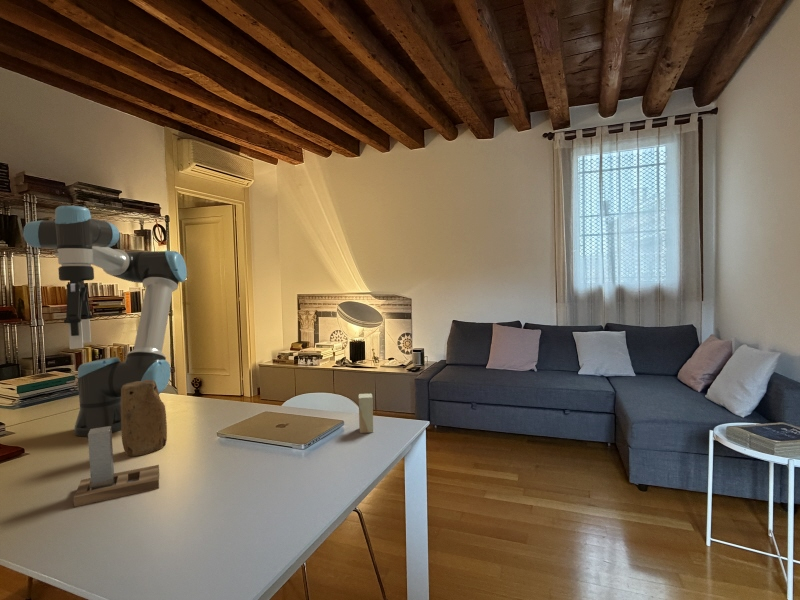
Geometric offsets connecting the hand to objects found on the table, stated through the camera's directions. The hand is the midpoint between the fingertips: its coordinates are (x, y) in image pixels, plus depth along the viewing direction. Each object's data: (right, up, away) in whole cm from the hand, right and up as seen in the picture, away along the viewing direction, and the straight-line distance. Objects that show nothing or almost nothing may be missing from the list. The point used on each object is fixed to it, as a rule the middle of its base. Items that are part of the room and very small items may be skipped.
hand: (81, 345), depth 117 cm
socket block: (+20, -32, -15) cm, 40 cm away
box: (+75, -29, +20) cm, 83 cm away
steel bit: (+17, -32, -16) cm, 39 cm away
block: (+12, -31, +9) cm, 35 cm away
